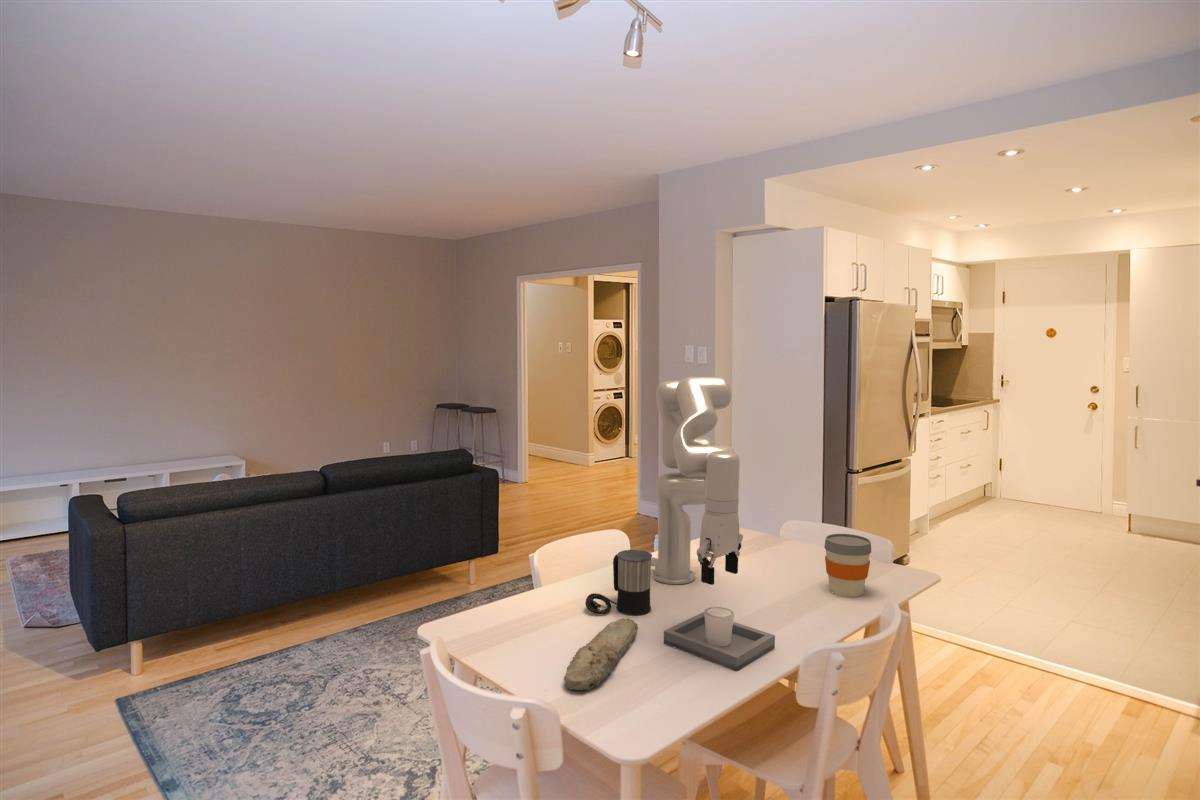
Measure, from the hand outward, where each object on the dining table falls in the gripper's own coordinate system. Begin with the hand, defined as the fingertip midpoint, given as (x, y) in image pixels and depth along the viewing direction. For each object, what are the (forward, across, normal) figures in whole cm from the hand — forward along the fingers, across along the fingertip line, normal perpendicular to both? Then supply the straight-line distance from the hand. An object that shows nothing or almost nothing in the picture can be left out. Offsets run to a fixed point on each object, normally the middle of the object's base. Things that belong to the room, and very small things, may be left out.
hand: (719, 577), depth 164 cm
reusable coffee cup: (+17, -54, +7) cm, 57 cm away
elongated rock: (+17, +23, -15) cm, 32 cm away
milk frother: (+17, +1, -31) cm, 35 cm away
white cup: (+15, 0, 0) cm, 15 cm away
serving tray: (+16, 0, 0) cm, 16 cm away
